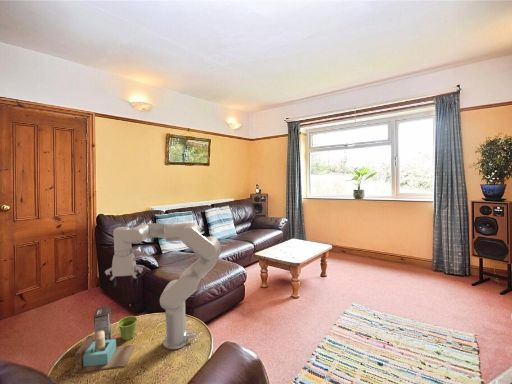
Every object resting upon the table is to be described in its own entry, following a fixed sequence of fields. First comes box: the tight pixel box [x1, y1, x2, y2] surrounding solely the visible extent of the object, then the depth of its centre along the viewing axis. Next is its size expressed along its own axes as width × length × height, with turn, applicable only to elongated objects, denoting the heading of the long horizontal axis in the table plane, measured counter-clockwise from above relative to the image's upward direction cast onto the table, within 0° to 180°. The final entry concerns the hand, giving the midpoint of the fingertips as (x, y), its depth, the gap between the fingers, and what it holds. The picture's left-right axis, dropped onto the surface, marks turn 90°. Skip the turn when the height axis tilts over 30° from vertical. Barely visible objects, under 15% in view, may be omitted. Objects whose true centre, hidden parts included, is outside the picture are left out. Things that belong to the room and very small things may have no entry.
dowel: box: [93, 331, 105, 352], centre depth 119 cm, size 4×4×12 cm
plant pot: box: [117, 315, 138, 341], centre depth 135 cm, size 9×9×9 cm
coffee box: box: [93, 305, 113, 340], centre depth 131 cm, size 9×6×16 cm
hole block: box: [83, 338, 117, 367], centre depth 119 cm, size 10×10×5 cm
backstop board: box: [73, 335, 136, 374], centre depth 119 cm, size 21×14×8 cm, turn 99°
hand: (125, 286), depth 127 cm, fingers open, 9 cm apart
